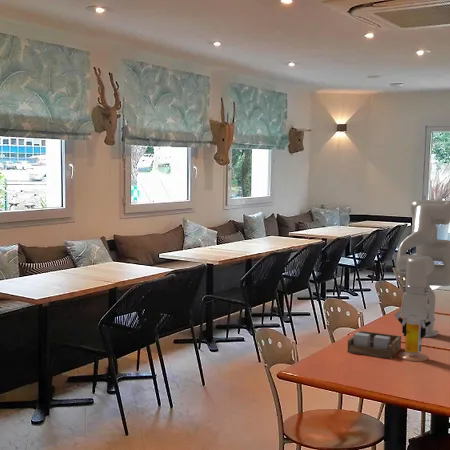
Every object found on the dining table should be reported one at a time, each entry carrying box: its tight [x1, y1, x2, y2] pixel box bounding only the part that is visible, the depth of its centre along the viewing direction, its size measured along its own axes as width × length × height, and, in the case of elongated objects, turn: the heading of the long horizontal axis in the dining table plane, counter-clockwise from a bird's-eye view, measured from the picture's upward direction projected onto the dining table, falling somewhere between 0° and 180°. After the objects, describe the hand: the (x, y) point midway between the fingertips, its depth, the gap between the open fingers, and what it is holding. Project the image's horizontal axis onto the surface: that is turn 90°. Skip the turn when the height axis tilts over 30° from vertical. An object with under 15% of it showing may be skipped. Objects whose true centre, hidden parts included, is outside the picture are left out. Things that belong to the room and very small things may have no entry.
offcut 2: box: [374, 335, 391, 350], centre depth 244 cm, size 4×6×7 cm
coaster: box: [397, 351, 429, 363], centre depth 241 cm, size 11×11×1 cm
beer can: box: [404, 315, 423, 355], centre depth 240 cm, size 6×6×15 cm
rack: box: [347, 330, 402, 360], centre depth 250 cm, size 17×17×5 cm
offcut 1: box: [353, 331, 370, 347], centre depth 248 cm, size 4×6×7 cm
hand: (413, 336), depth 240 cm, fingers closed on beer can, 5 cm apart
